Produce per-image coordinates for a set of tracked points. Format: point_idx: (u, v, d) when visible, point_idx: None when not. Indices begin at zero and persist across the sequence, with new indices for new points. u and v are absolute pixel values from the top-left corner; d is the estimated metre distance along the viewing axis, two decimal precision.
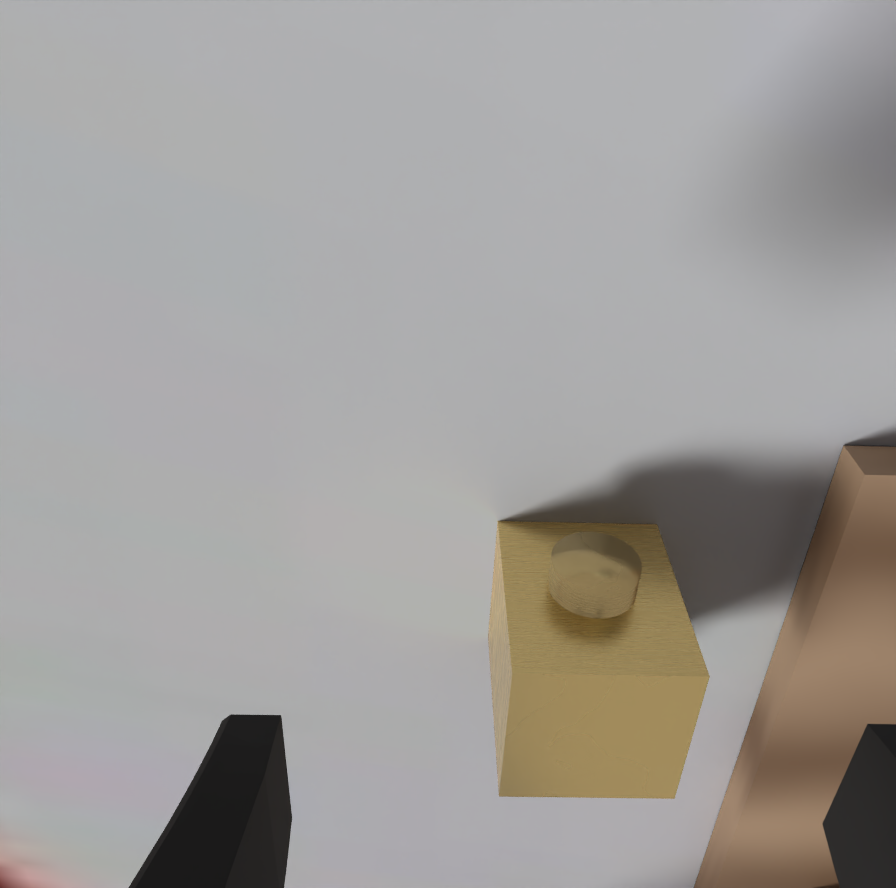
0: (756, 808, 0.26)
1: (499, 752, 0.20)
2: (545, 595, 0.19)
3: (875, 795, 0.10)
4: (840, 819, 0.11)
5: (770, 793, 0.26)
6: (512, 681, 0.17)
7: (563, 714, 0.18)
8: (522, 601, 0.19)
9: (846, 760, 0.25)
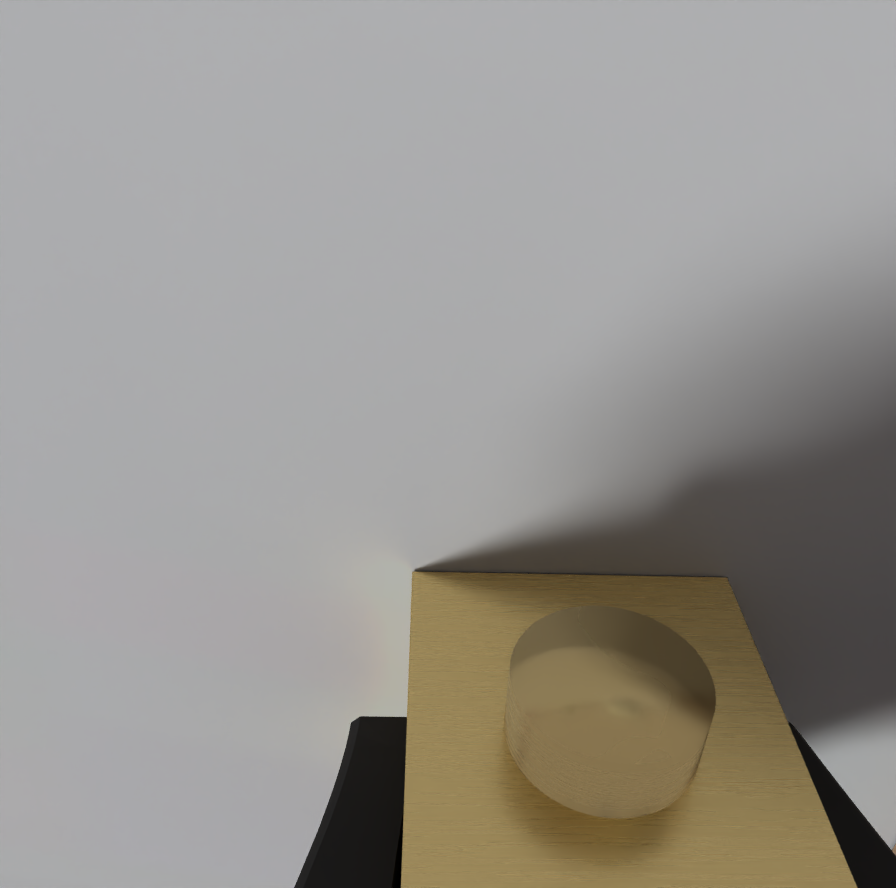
0: None
1: None
2: (499, 753, 0.09)
3: None
4: None
5: None
6: None
7: None
8: (444, 771, 0.08)
9: None
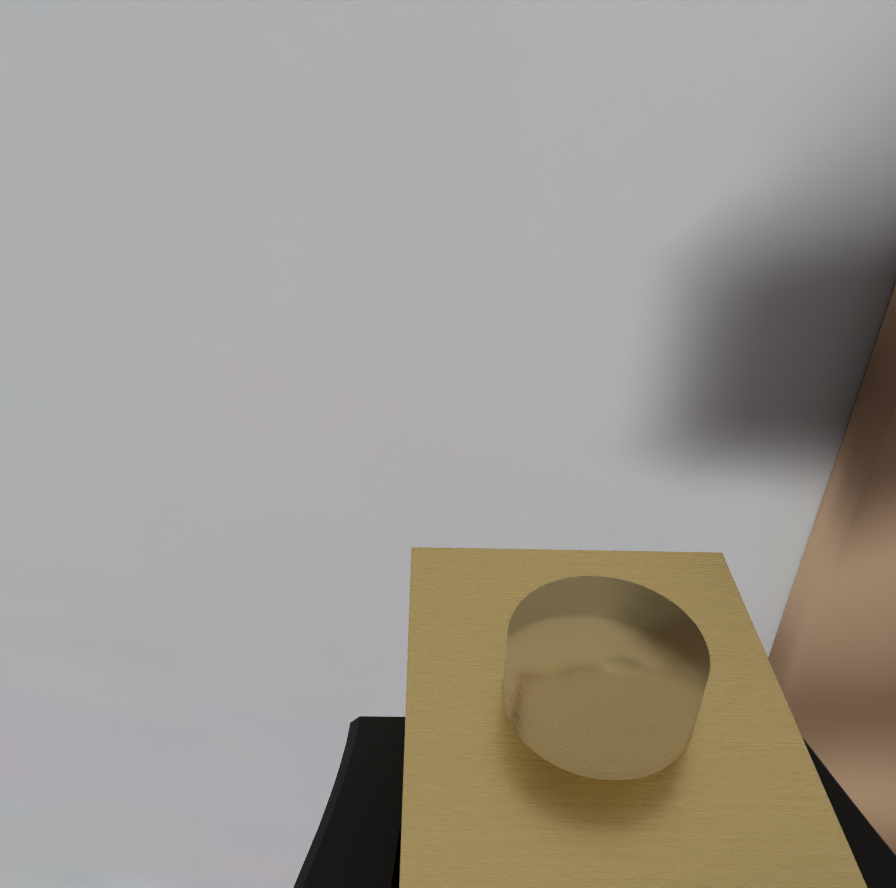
0: None
1: None
2: (496, 719, 0.09)
3: None
4: None
5: None
6: None
7: None
8: (442, 736, 0.09)
9: None
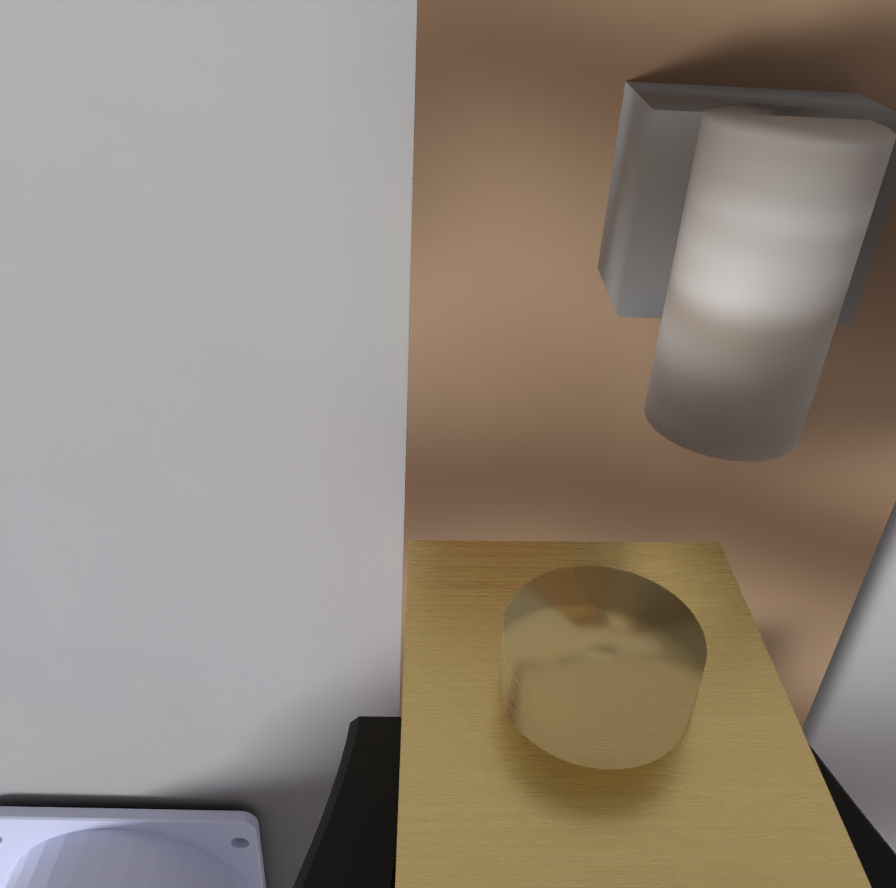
0: None
1: None
2: (493, 709, 0.09)
3: None
4: None
5: (434, 537, 0.18)
6: None
7: None
8: (439, 727, 0.09)
9: (529, 478, 0.17)
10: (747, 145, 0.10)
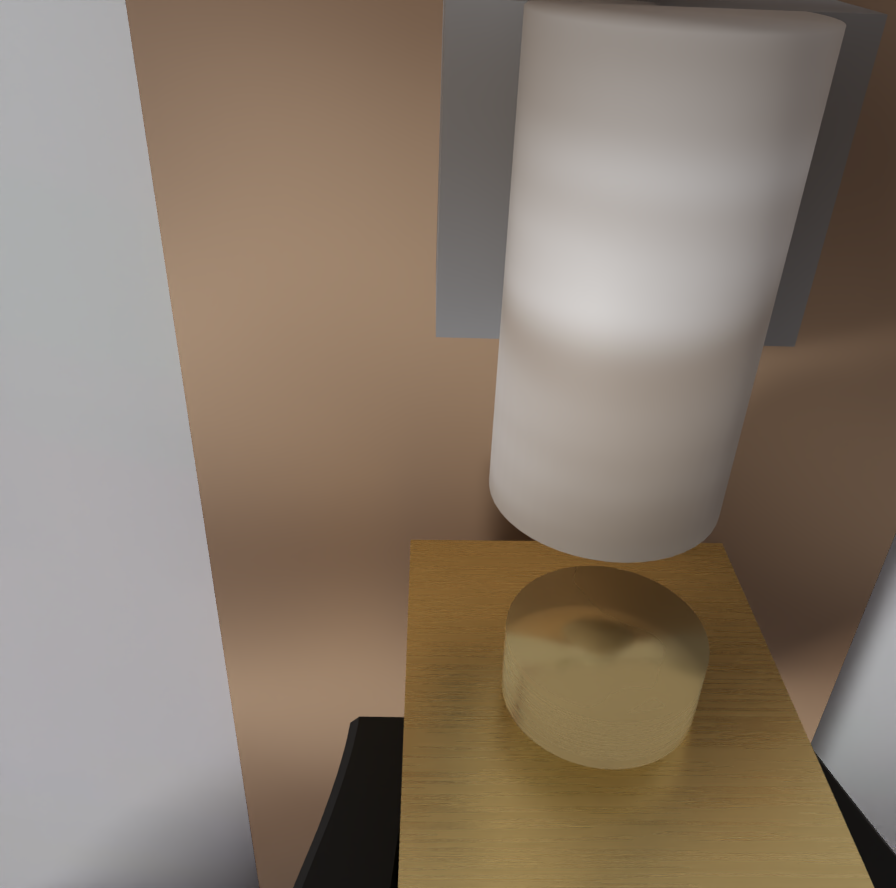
0: (249, 660, 0.14)
1: None
2: (496, 709, 0.09)
3: None
4: None
5: (261, 626, 0.13)
6: None
7: None
8: (442, 726, 0.09)
9: (377, 551, 0.13)
10: (580, 41, 0.06)
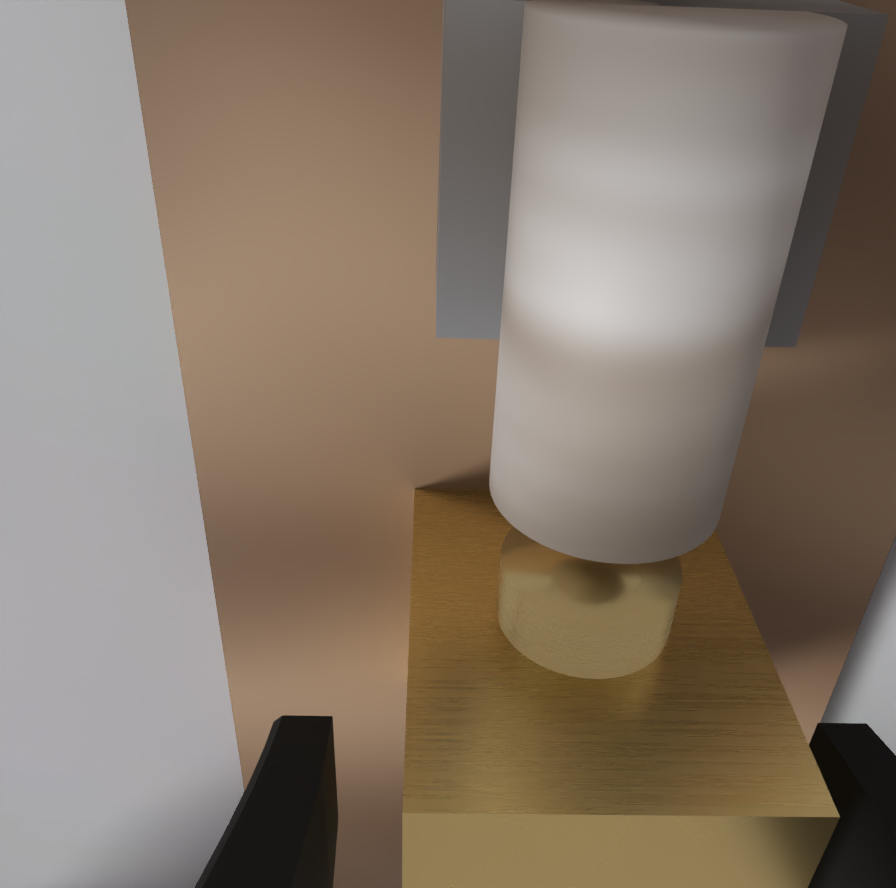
0: (249, 660, 0.14)
1: None
2: (491, 629, 0.10)
3: None
4: None
5: (261, 627, 0.13)
6: (404, 828, 0.08)
7: (521, 887, 0.08)
8: (442, 643, 0.10)
9: (377, 552, 0.13)
10: (580, 41, 0.06)
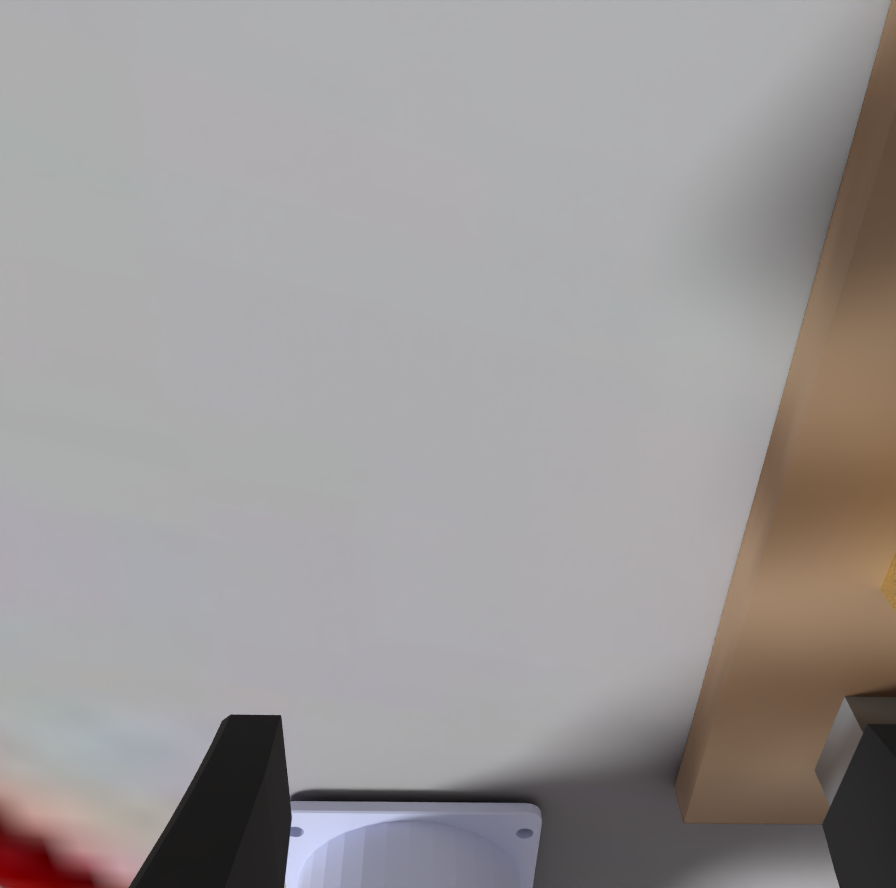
0: (775, 570, 0.20)
1: None
2: None
3: (875, 795, 0.10)
4: (840, 819, 0.11)
5: (794, 545, 0.19)
6: None
7: None
8: None
9: (895, 490, 0.19)
10: None
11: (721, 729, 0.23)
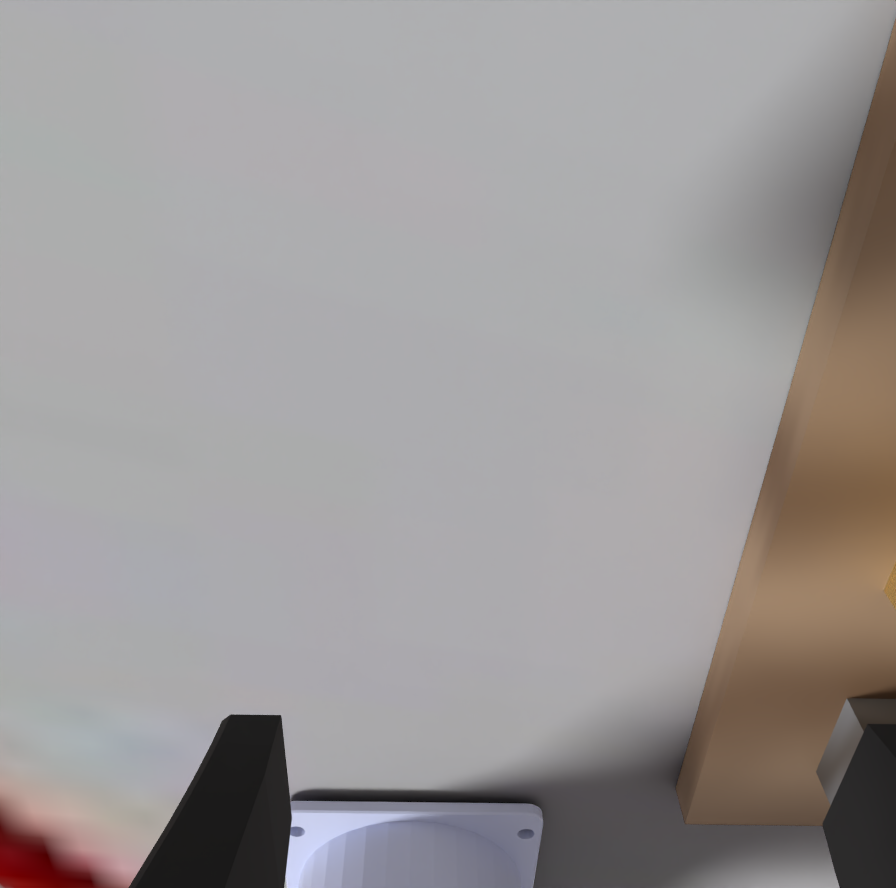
0: (779, 571, 0.20)
1: None
2: None
3: (875, 795, 0.10)
4: (840, 819, 0.11)
5: (798, 547, 0.19)
6: None
7: None
8: None
9: None
10: None
11: (723, 730, 0.23)
